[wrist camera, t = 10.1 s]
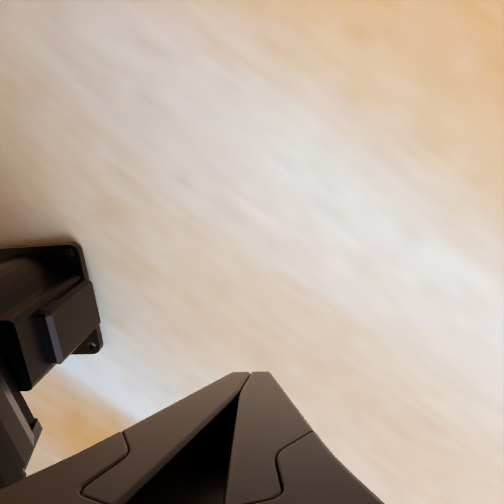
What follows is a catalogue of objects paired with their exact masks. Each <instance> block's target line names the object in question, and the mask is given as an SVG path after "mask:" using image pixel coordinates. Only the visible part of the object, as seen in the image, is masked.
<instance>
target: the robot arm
mask: <svg viewBox="0 0 504 504" xmlns="http://www.w3.org/2000/svg"><path fill="white" fill-rule="evenodd" d="M69 249H72V250H73V251H74V253H75V256H73V255H71V254H70V252H69ZM99 324H100V317H99V312H98V308H97V303H96V299H95V294H94V290H93V285H92V282H91V281H90V280H89V277H88V273H87V268H86V264H85V259H84V255H83V250H82V248H81V247H80V245H79V244H77V243H74V242H68V243H53V244H37V245H21V246H6V247H0V504H384V503H383V502H382V501H381V500H380V499H379V498H378V497H377V496H376V495H375V494H374V493H373V492H371V491H370V490H369V489H368V488H367V487H366V486H365V485H364V484H363V483H362V482H361V481H360V480H359V479H357V478H356V477H355V476H354V475H353V474H352V473H351V472H350V471H349V470H348V469H347V468H346V467H345V466H344V465H343V464H342V463H341V462H340V461H339V460H338V459H337V458H336V457H335V456H334V455H333V454H332V453H331V451H330V450H329V449H328V448H327V447H326V445H325V444H324V443H323V442H322V440H321V439H320V438H319V436H318V435H317V434H316V433H315V432H314V431H313V429H312V428H311V427H310V425H309V424H308V423H307V421H306V420H305V419H304V417H303V416H302V415H301V413H300V412H299V411H298V409H297V408H296V407H295V405H294V404H293V403H292V401H291V400H290V399H289V397H288V396H287V395H286V393H285V392H284V391H283V389H282V388H281V387H280V385H279V384H278V383H277V381H276V380H275V379H274V377H273V376H272V375H271V373H270V372H252V373H251V374H250V373H249V372H233V373H231V374H229V375H227V376H225V377H223V378H221V379H219V380H217V381H216V382H214V383H212V384H210V385H208V386H206V387H204V388H202V389H200V390H199V391H197V392H195V393H193V394H191V395H189V396H187V397H185V398H184V399H182V400H180V401H178V402H176V403H174V404H172V405H170V406H169V407H167V408H165V409H163V410H161V411H159V412H157V413H155V414H154V415H152V416H150V417H148V418H146V419H144V420H142V421H140V422H139V423H137V424H135V425H133V426H131V427H129V428H127V429H125V430H124V431H123V432H118V433H116V434H114V435H113V436H111V437H109V438H107V439H105V440H103V441H101V442H99V443H97V444H95V445H93V446H91V447H89V448H87V449H85V450H83V451H82V452H80V453H77V454H75V455H73V456H71V457H69V458H67V459H65V460H63V461H60V462H58V463H56V464H54V465H52V466H50V467H48V468H45V469H43V470H41V471H39V472H37V473H34V474H32V475H30V476H28V477H26V472H25V470H26V467H27V465H28V462H29V460H30V458H31V455H32V453H33V450H34V448H35V445H36V443H37V441H38V438H39V436H40V433H41V431H42V427H41V425H40V423H39V421H38V419H37V418H34V417H33V415H32V413H31V411H30V409H29V408H28V406H27V404H26V402H25V400H24V398H23V396H22V394H21V392H20V391H29V390H31V389H32V388H33V387H34V386H35V385H36V384H37V383H38V382H39V381H40V380H41V379H42V378H43V377H44V376H45V375H46V374H47V373H48V372H49V371H50V370H51V369H52V368H53V367H54V366H55V365H56V364H61V363H62V362H63V361H64V360H65V359H66V358H67V357H68V356H69V355H70V354H95V353H97V352H99V351H100V349H101V348H102V347H103V340H102V335H101V331H100V326H99ZM91 342H93V343H94V344H95V345H96V346H93V345H92V344H91ZM25 477H26V478H25Z"/></svg>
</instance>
